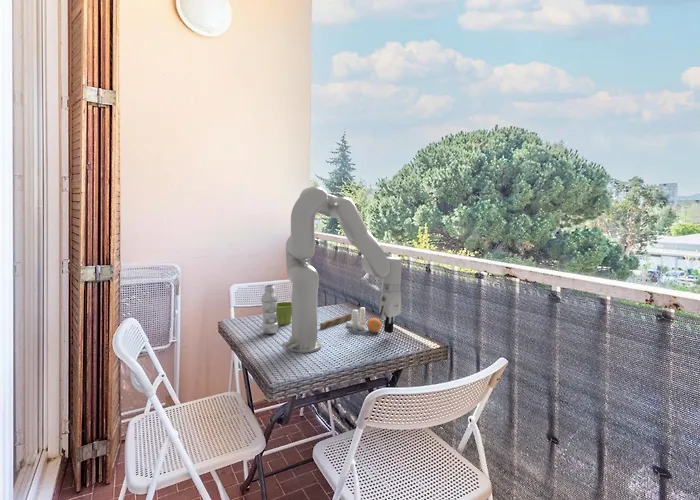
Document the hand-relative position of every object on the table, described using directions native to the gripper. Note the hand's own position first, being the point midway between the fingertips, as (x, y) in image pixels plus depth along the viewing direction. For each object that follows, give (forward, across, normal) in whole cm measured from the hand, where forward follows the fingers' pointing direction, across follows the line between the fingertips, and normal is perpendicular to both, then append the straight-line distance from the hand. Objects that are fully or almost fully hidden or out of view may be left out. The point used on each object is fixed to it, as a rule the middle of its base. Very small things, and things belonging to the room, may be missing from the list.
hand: (388, 331), depth 157 cm
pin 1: (+3, -2, +16) cm, 16 cm away
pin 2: (+3, +3, +16) cm, 16 cm away
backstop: (+3, +1, +28) cm, 28 cm away
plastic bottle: (+4, -27, +40) cm, 49 cm away
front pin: (+2, +1, +13) cm, 13 cm away
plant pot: (+4, -14, +46) cm, 49 cm away
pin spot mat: (+3, +1, +14) cm, 14 cm away
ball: (0, +2, +9) cm, 9 cm away
